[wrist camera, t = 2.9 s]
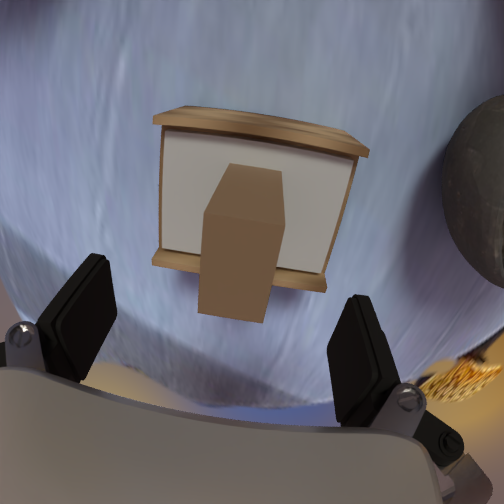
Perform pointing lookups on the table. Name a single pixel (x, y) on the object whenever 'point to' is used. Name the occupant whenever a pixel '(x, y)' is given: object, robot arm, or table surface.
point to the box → (264, 130)
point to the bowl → (477, 189)
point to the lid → (248, 213)
